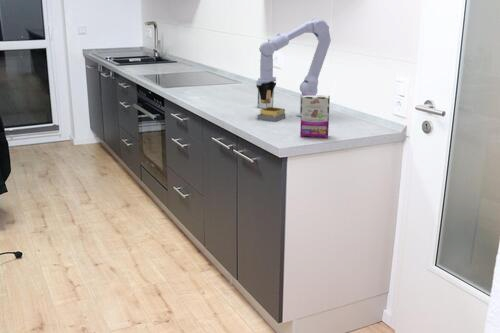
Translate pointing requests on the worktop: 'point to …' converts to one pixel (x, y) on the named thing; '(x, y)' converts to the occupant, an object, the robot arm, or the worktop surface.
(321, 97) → the candy bar box
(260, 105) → the syrup box
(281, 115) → the square open tray
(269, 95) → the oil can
